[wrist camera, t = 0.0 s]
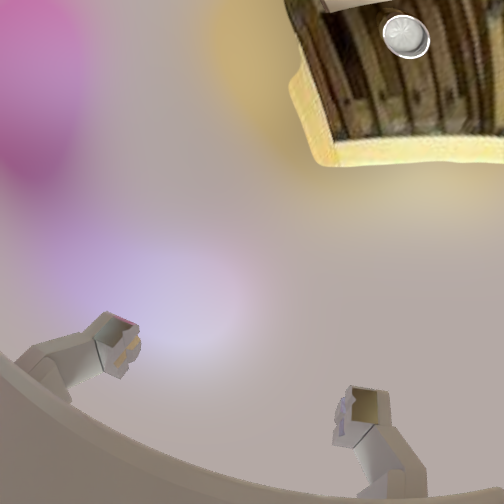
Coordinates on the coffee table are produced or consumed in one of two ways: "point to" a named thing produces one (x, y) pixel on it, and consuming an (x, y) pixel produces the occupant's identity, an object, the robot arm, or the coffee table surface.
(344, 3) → the beige t-shaped block
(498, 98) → the coffee table surface
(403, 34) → the beer glass
